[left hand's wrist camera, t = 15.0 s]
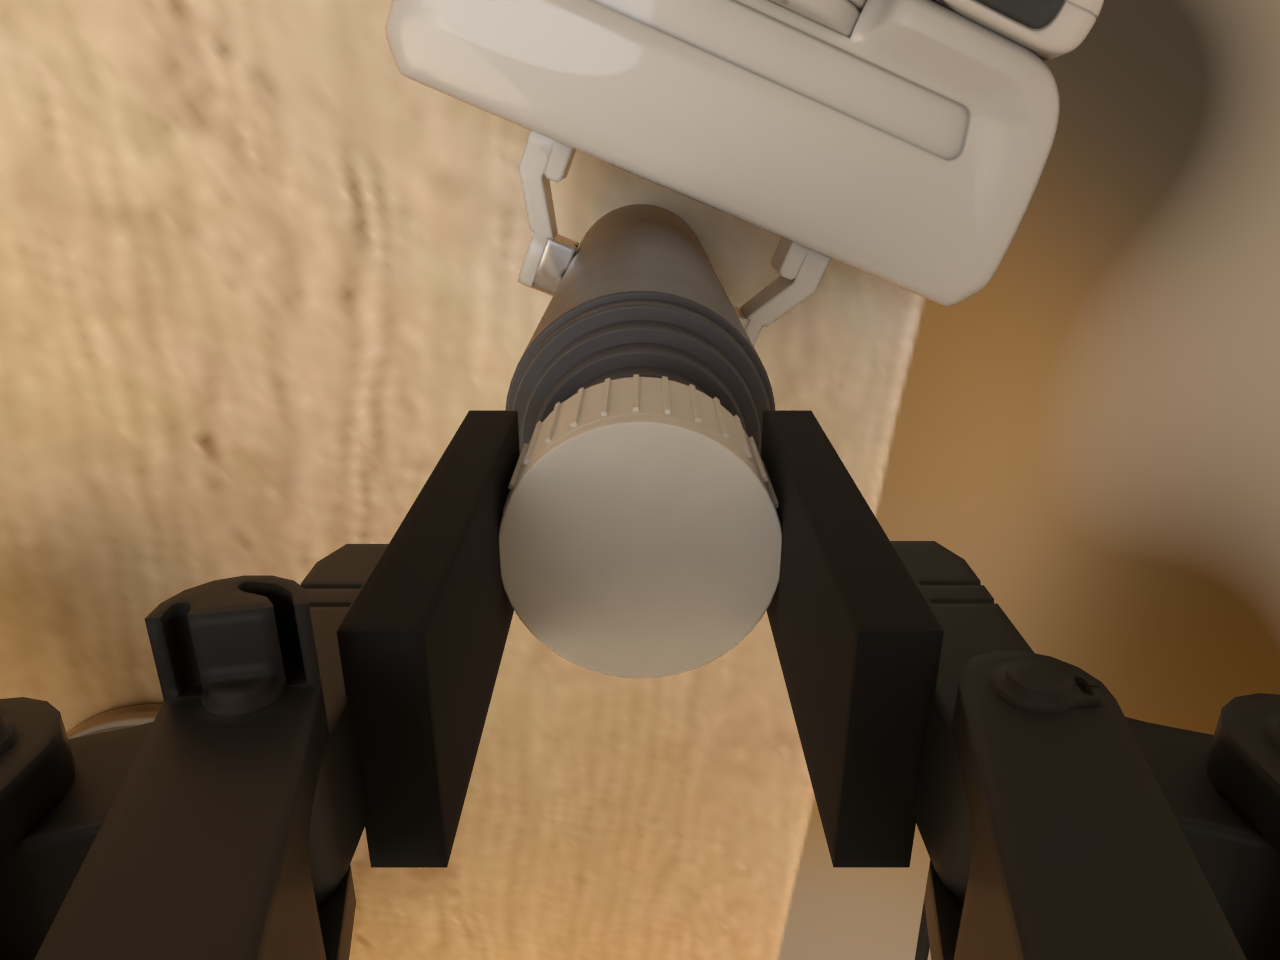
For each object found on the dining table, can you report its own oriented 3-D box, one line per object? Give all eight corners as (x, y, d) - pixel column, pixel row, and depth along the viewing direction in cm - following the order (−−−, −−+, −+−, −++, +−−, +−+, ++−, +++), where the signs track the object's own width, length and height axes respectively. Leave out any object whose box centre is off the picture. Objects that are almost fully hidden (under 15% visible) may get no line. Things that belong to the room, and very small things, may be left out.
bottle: (732, 257, 36) (908, 505, 12) (654, 362, 37) (680, 758, 14) (624, 176, 34) (591, 277, 11) (549, 288, 36) (382, 583, 13)
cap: (788, 389, 14) (815, 437, 11) (742, 616, 15) (759, 696, 13) (526, 355, 13) (504, 399, 11) (506, 588, 15) (483, 666, 13)
